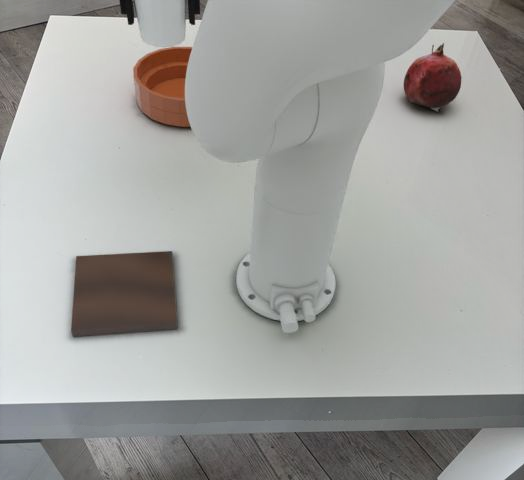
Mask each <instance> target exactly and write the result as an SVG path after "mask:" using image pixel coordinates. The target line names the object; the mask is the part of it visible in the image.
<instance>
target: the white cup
mask: <svg viewBox="0 0 524 480" xmlns="http://www.w3.org/2000/svg"><path fill="white" fill-rule="evenodd" d="M133 7H134V12H135V15H136V19H137V24H138V25H137V26H138V30H139V34H140V38H141V40H142V42H143V43H145V44H146V45H148V46H152V47H156V48H169V47H177V46H178V45H181V44H182V43H183V42H185V40H186V31H187V0H133Z"/></svg>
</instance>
